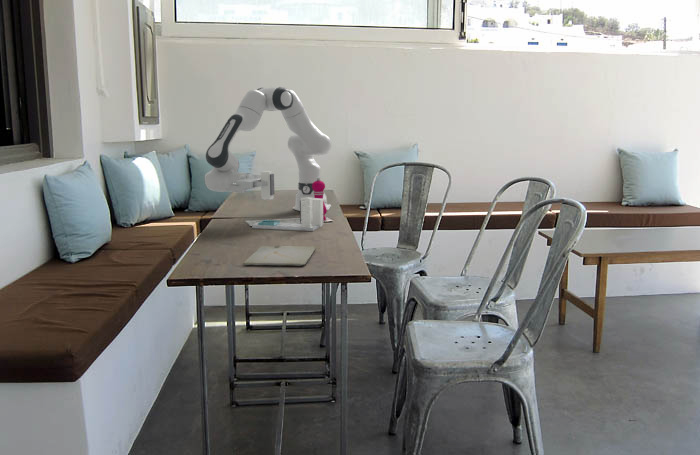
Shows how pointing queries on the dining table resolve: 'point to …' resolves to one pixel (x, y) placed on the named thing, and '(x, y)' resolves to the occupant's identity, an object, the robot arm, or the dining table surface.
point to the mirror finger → (318, 211)
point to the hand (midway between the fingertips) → (269, 183)
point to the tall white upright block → (268, 190)
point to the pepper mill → (319, 193)
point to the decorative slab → (280, 255)
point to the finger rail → (305, 224)
